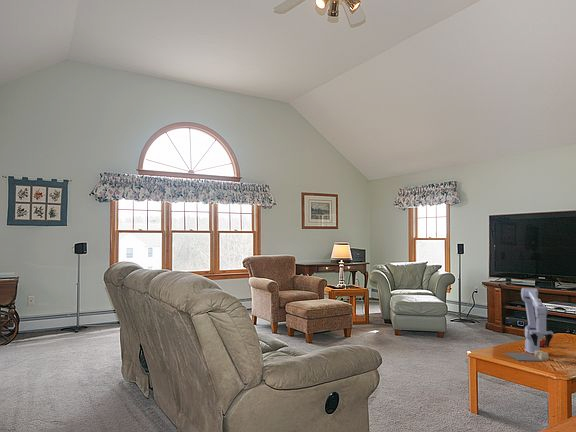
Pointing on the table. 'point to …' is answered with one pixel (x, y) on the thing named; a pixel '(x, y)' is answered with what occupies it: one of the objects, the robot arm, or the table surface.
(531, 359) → the charcoal rubber mat
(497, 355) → the table surface
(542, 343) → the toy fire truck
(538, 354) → the birch card box
